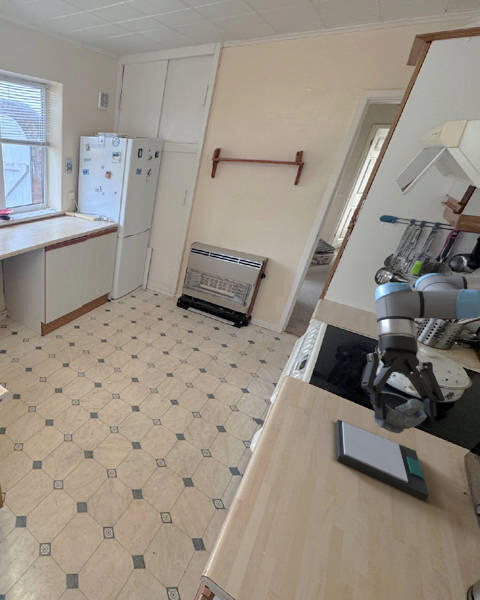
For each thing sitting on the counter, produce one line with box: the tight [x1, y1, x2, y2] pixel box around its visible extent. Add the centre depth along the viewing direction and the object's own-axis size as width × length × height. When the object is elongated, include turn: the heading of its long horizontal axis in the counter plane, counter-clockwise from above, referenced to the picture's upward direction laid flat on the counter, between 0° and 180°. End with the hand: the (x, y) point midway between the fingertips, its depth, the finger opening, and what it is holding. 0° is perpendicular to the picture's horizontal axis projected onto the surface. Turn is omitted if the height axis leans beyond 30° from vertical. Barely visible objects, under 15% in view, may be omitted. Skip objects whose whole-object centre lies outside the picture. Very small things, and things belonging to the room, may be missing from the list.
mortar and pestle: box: [372, 390, 427, 434], centre depth 82 cm, size 11×9×12 cm
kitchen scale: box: [334, 419, 430, 502], centre depth 88 cm, size 18×16×3 cm
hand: (404, 424), depth 80 cm, fingers closed on mortar and pestle, 10 cm apart
